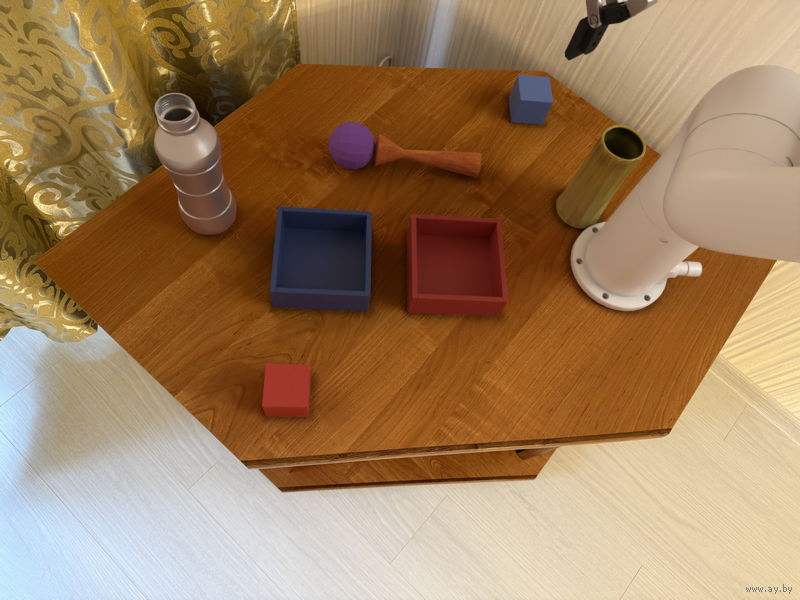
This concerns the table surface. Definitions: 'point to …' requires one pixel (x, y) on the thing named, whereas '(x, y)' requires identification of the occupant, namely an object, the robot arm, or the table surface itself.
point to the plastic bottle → (193, 165)
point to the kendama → (392, 152)
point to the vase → (600, 176)
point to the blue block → (530, 99)
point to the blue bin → (321, 259)
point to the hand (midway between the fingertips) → (543, 17)
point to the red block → (286, 390)
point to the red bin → (455, 265)
